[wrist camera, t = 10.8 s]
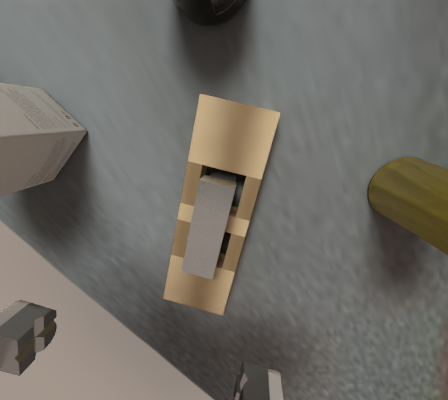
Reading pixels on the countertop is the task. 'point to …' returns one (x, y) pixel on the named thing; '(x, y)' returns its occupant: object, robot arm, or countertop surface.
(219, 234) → the grey concrete brick
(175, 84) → the countertop surface
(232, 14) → the supplement bottle
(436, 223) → the vase
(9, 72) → the countertop surface
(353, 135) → the countertop surface
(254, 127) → the flat wooden block
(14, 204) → the countertop surface
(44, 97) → the skincare box
